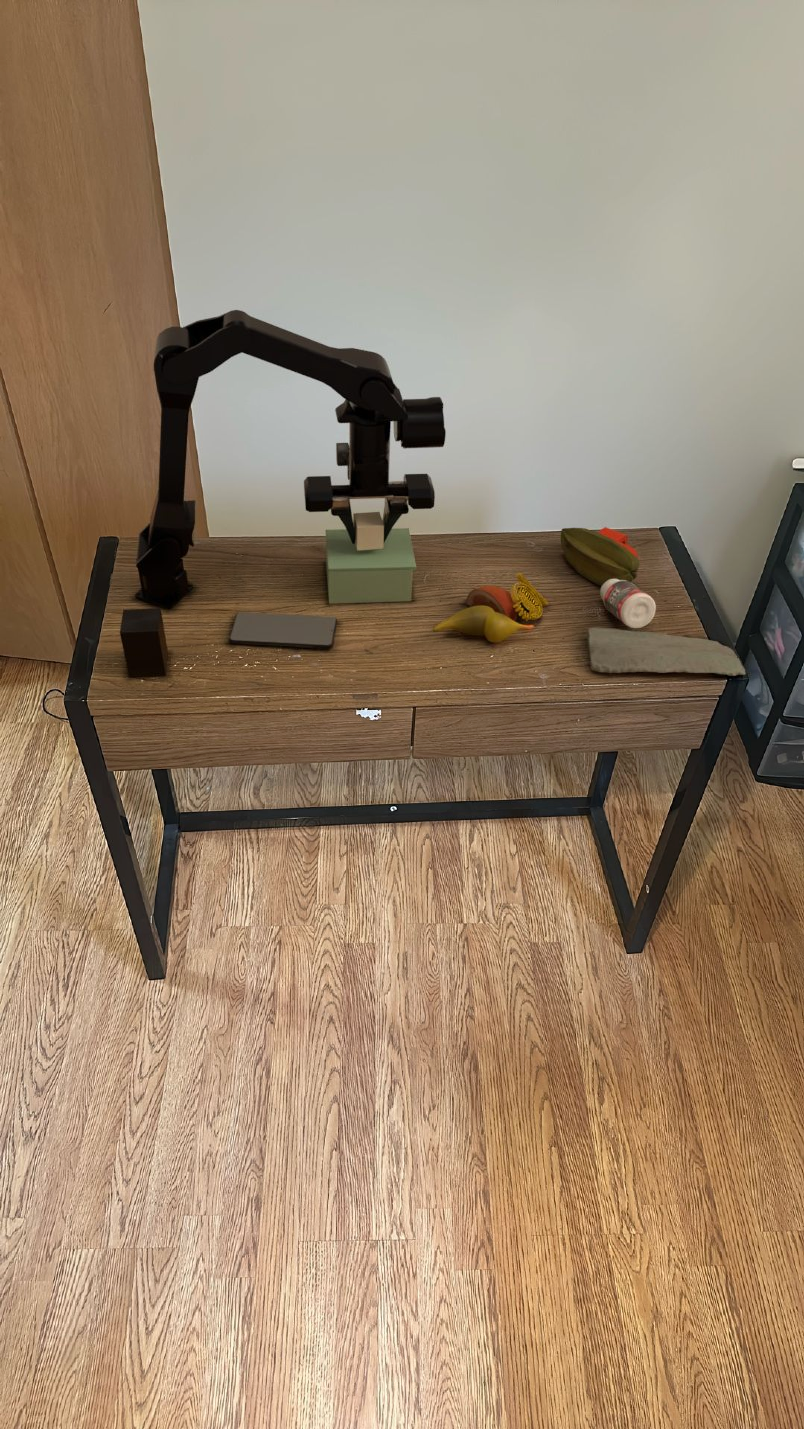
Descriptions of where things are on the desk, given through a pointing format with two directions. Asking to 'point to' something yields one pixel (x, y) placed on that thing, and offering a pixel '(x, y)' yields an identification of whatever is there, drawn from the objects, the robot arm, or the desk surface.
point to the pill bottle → (628, 603)
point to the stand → (144, 642)
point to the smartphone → (283, 630)
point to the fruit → (597, 556)
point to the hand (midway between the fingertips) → (368, 541)
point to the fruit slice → (493, 600)
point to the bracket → (617, 538)
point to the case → (369, 586)
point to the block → (368, 530)
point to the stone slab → (658, 653)
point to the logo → (527, 599)
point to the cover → (370, 553)
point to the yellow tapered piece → (482, 623)
